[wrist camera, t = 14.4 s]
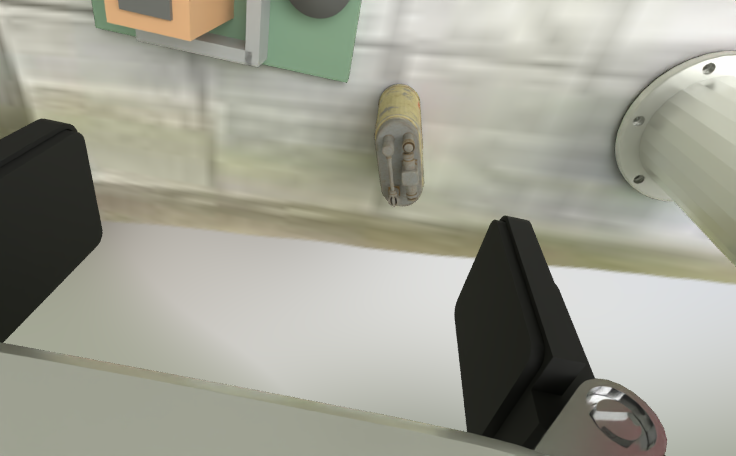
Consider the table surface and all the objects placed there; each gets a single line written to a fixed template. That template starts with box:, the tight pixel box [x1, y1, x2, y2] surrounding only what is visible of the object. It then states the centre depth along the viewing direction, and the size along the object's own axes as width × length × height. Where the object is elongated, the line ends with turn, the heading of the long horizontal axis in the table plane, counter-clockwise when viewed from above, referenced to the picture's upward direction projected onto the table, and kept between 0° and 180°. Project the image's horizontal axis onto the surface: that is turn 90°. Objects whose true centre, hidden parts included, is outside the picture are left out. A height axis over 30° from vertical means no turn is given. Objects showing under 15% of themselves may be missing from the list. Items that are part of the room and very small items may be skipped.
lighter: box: [374, 84, 424, 207], centre depth 34 cm, size 7×4×10 cm, turn 7°
